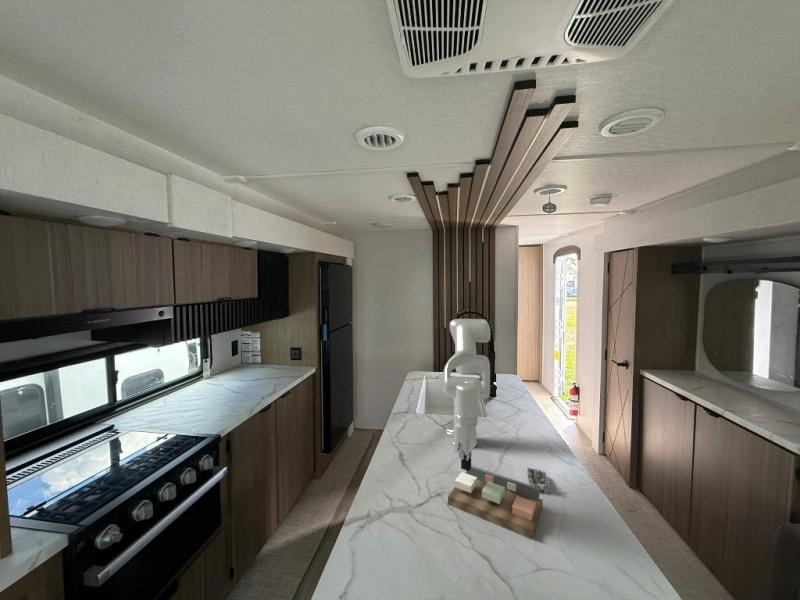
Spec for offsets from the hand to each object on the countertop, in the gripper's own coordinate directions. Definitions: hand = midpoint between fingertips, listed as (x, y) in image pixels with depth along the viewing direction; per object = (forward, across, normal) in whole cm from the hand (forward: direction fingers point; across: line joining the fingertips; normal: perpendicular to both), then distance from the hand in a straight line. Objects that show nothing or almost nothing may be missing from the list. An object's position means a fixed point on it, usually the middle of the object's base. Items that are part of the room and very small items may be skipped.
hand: (466, 468), depth 116 cm
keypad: (+11, -2, +10) cm, 15 cm away
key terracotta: (+8, 0, +20) cm, 21 cm away
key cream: (+6, 0, 0) cm, 6 cm away
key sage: (+6, 0, +10) cm, 12 cm away
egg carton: (+11, -23, +20) cm, 32 cm away
